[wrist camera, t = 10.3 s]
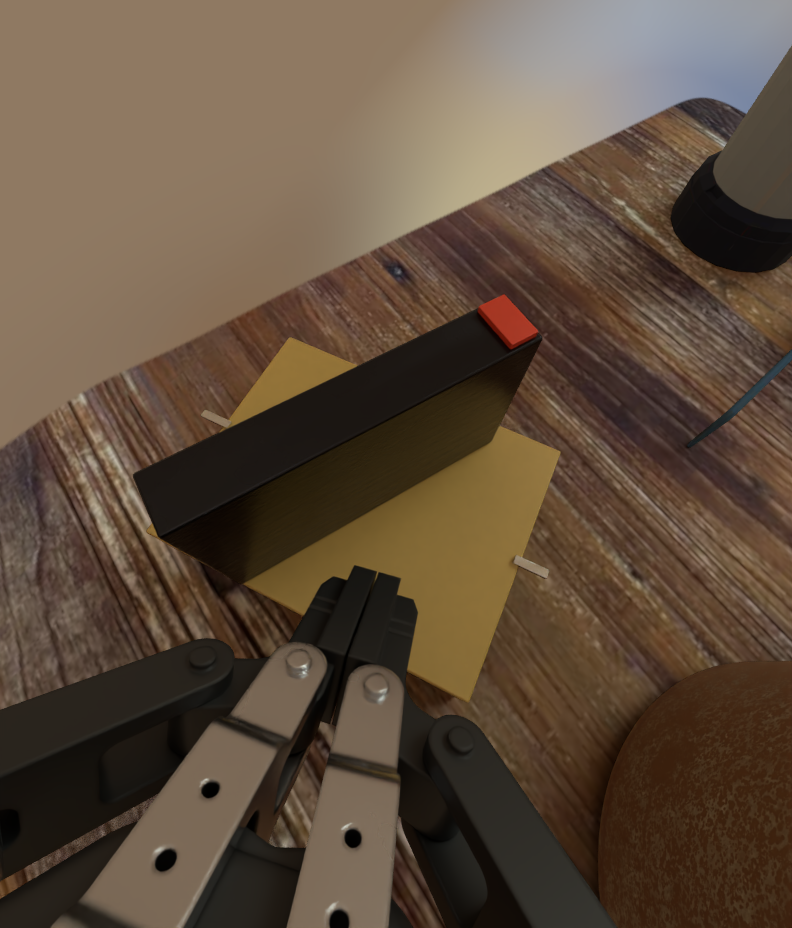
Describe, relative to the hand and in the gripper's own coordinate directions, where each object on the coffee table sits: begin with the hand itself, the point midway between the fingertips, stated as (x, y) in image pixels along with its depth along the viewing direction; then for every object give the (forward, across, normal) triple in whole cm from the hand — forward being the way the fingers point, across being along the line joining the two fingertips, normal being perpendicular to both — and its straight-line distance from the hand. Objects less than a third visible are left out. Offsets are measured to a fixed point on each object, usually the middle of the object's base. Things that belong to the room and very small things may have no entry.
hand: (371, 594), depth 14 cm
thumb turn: (+6, +2, -1) cm, 6 cm away
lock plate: (+8, +2, +2) cm, 8 cm away
